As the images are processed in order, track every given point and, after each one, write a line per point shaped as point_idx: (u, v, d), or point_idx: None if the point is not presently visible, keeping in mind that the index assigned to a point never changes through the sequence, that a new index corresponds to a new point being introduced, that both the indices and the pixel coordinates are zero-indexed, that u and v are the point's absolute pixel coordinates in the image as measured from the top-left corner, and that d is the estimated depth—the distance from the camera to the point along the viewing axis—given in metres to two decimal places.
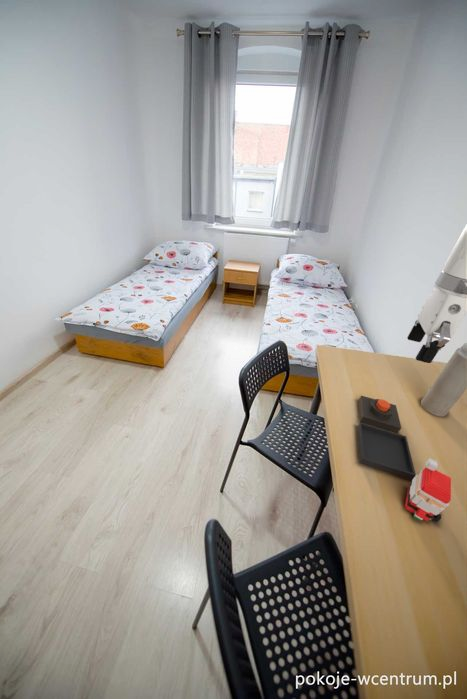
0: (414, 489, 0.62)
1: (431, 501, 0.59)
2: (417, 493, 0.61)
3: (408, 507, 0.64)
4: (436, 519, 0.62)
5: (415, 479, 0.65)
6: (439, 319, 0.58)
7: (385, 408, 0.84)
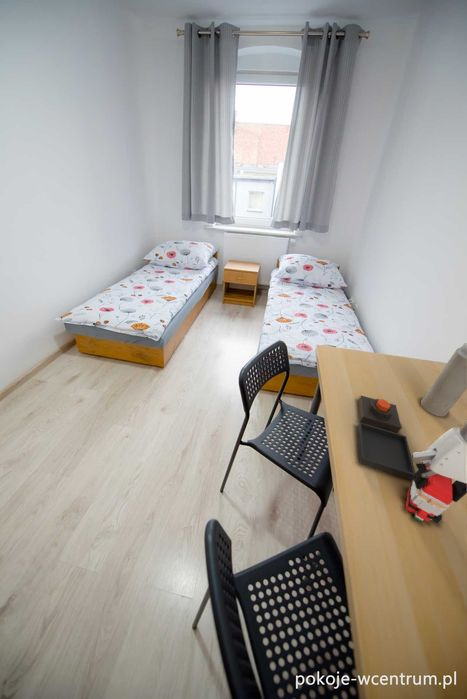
0: (415, 490, 0.62)
1: (432, 502, 0.59)
2: (418, 494, 0.61)
3: (409, 508, 0.64)
4: (437, 519, 0.62)
5: None
6: None
7: (385, 408, 0.84)
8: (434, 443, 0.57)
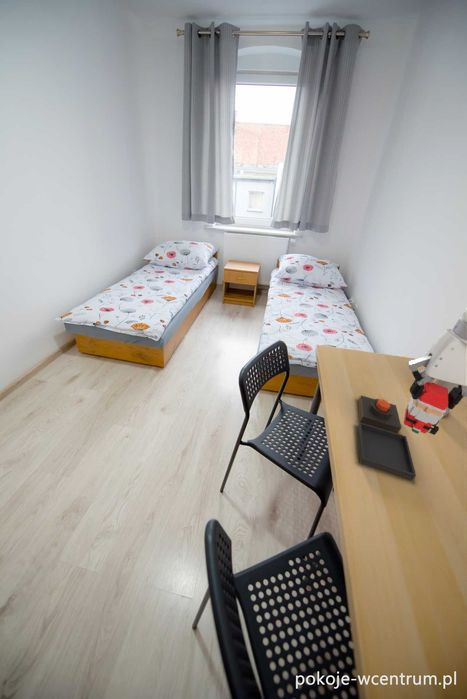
0: (412, 403, 0.63)
1: (429, 409, 0.60)
2: (415, 405, 0.62)
3: (406, 422, 0.65)
4: (434, 431, 0.63)
5: None
6: None
7: (385, 408, 0.84)
8: (429, 349, 0.58)
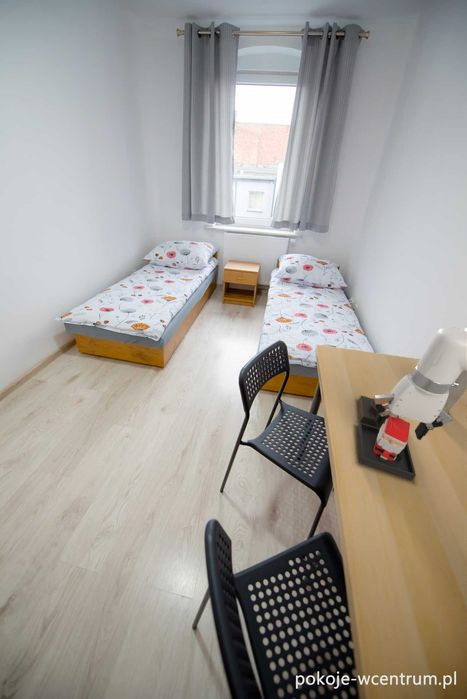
0: (380, 434, 0.74)
1: (393, 441, 0.70)
2: (382, 436, 0.72)
3: (375, 450, 0.75)
4: (398, 459, 0.73)
5: (381, 427, 0.76)
6: None
7: None
8: (393, 390, 0.68)
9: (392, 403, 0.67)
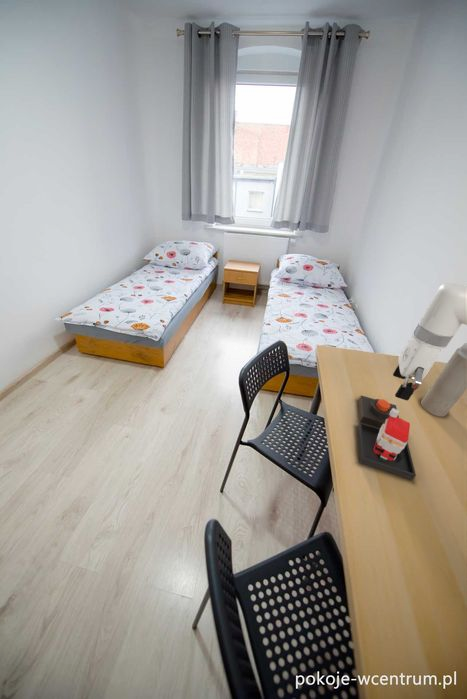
0: (380, 434, 0.74)
1: (393, 441, 0.70)
2: (382, 437, 0.72)
3: (375, 450, 0.75)
4: (398, 459, 0.73)
5: (381, 427, 0.76)
6: None
7: (385, 408, 0.84)
8: (413, 364, 0.67)
9: (424, 374, 0.67)
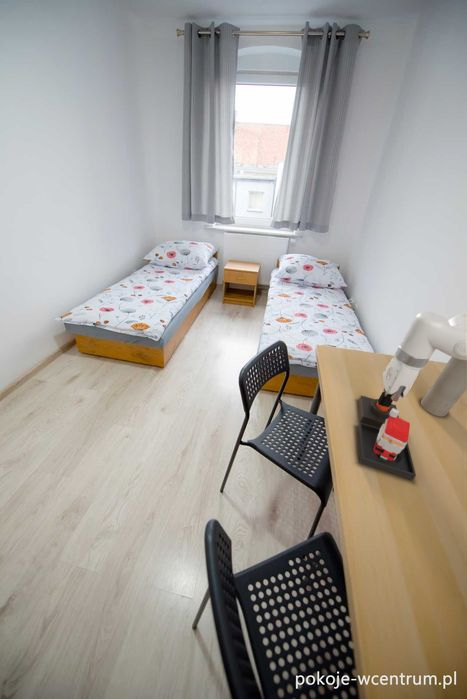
0: (380, 434, 0.74)
1: (393, 441, 0.70)
2: (382, 437, 0.72)
3: (375, 450, 0.75)
4: (398, 459, 0.73)
5: (381, 427, 0.76)
6: None
7: (384, 409, 0.84)
8: (396, 384, 0.75)
9: (402, 395, 0.77)
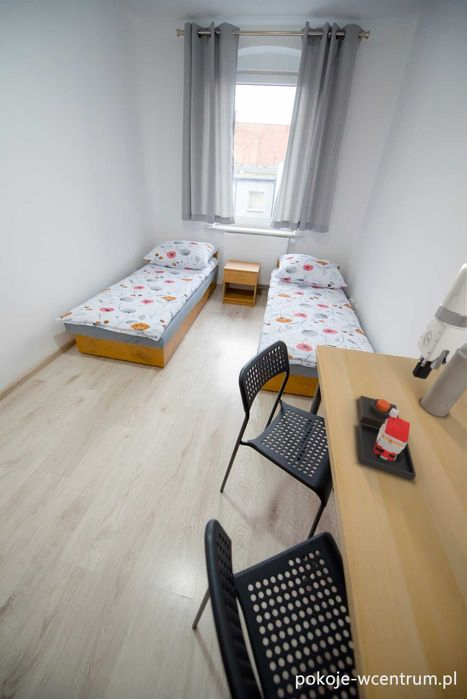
0: (380, 434, 0.74)
1: (393, 441, 0.70)
2: (382, 437, 0.72)
3: (375, 450, 0.75)
4: (398, 459, 0.73)
5: (381, 427, 0.76)
6: None
7: (385, 408, 0.84)
8: (438, 348, 0.65)
9: (443, 362, 0.68)
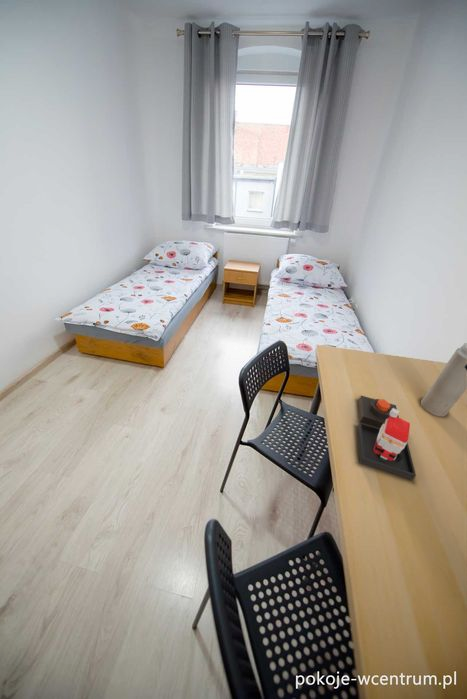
0: (380, 434, 0.74)
1: (393, 441, 0.70)
2: (382, 437, 0.72)
3: (375, 450, 0.75)
4: (398, 459, 0.73)
5: (381, 427, 0.76)
6: None
7: (385, 408, 0.84)
8: None
9: None
